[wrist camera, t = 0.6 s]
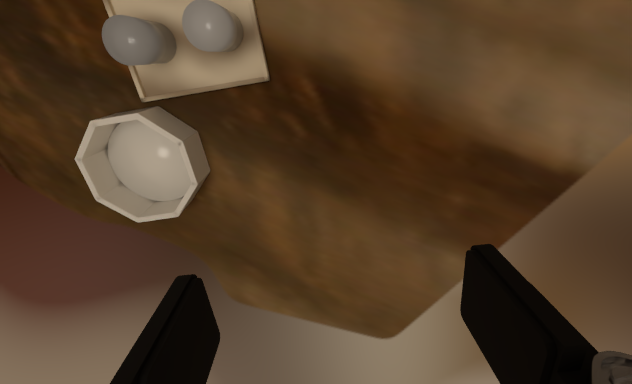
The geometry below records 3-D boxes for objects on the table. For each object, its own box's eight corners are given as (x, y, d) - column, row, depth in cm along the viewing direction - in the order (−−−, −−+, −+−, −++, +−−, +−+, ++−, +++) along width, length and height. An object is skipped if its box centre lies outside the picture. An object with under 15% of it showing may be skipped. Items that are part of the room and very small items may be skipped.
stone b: (131, 25, 34) (93, 19, 28) (168, 18, 34) (138, 10, 28) (146, 66, 36) (113, 68, 30) (181, 60, 36) (155, 61, 30)
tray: (103, -11, 33) (97, -13, 32) (245, -39, 32) (243, -42, 31) (146, 101, 38) (142, 102, 37) (270, 79, 37) (269, 80, 36)
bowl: (88, 118, 39) (57, 126, 34) (187, 101, 38) (170, 107, 34) (130, 209, 44) (109, 226, 40) (218, 196, 44) (207, 212, 39)
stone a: (199, 12, 34) (175, 3, 28) (237, 5, 34) (221, -6, 28) (211, 55, 36) (190, 55, 30) (247, 48, 35) (234, 47, 29)
